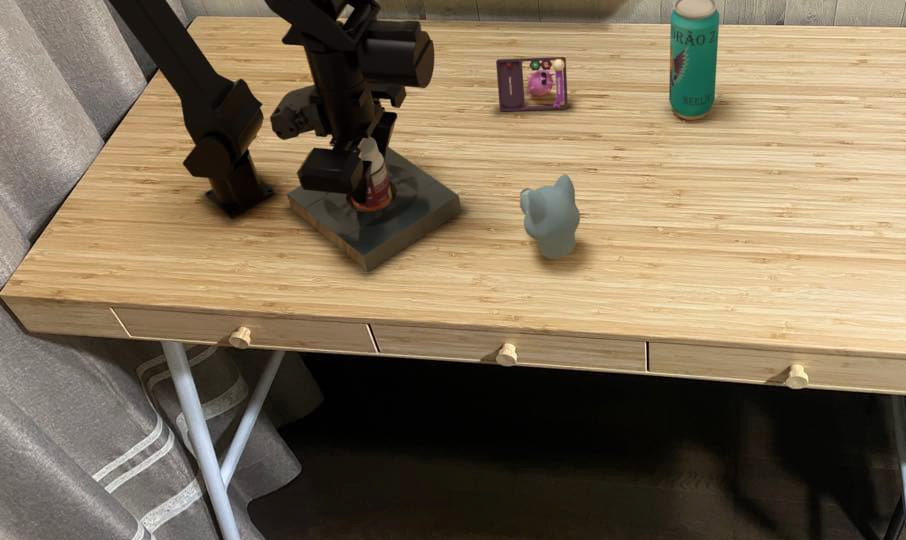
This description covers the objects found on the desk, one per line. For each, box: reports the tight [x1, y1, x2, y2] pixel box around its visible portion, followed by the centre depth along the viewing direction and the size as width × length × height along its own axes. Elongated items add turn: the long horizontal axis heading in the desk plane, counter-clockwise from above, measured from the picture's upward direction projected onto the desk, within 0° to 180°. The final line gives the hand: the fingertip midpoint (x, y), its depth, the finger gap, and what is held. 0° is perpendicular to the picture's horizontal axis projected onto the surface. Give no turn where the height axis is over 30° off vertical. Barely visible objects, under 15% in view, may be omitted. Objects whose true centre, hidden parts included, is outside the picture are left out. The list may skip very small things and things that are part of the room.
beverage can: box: [668, 0, 720, 121], centre depth 125 cm, size 6×6×15 cm
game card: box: [495, 56, 569, 112], centre depth 133 cm, size 7×5×9 cm
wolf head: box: [519, 173, 581, 260], centre depth 112 cm, size 6×9×10 cm
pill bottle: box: [351, 137, 393, 212], centre depth 118 cm, size 5×5×8 cm
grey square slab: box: [285, 146, 462, 272], centre depth 121 cm, size 16×14×2 cm
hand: (369, 188), depth 120 cm, fingers closed on pill bottle, 5 cm apart
